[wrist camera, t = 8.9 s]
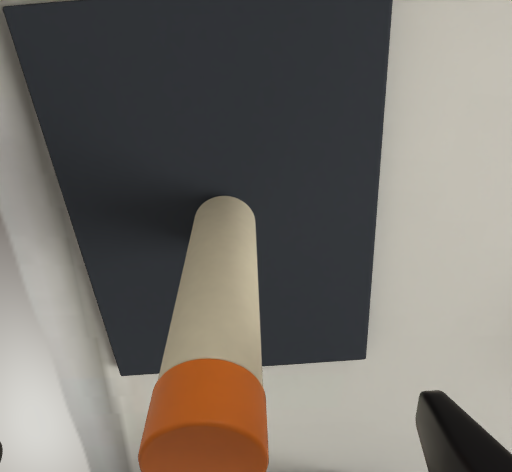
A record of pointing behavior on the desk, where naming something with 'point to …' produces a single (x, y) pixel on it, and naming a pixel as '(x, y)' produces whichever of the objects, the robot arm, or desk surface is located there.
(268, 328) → the mat
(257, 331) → the glue stick
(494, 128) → the desk surface
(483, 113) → the desk surface
